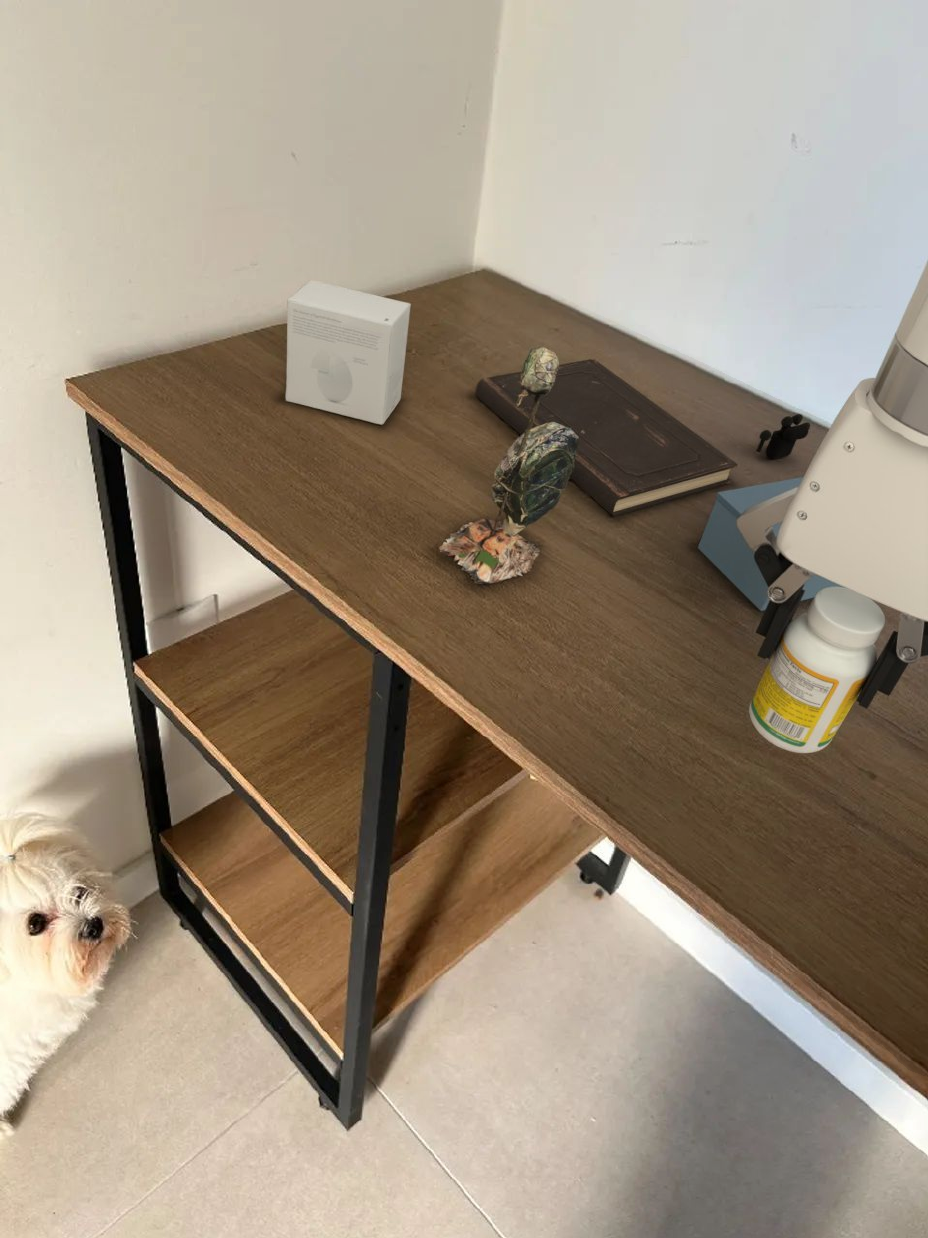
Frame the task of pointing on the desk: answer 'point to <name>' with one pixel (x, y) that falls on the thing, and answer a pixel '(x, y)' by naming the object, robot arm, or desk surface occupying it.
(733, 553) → the blue box
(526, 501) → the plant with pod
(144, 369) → the desk surface
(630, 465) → the hardcover book
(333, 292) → the cosmetics box
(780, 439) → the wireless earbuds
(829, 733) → the supplement bottle
